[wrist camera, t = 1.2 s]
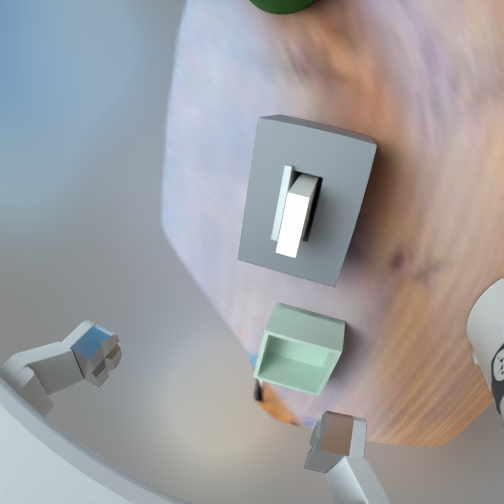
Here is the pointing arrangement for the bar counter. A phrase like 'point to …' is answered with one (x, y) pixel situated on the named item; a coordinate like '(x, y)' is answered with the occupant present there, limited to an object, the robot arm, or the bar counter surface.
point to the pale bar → (297, 214)
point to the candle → (281, 5)
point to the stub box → (299, 349)
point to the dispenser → (327, 198)
